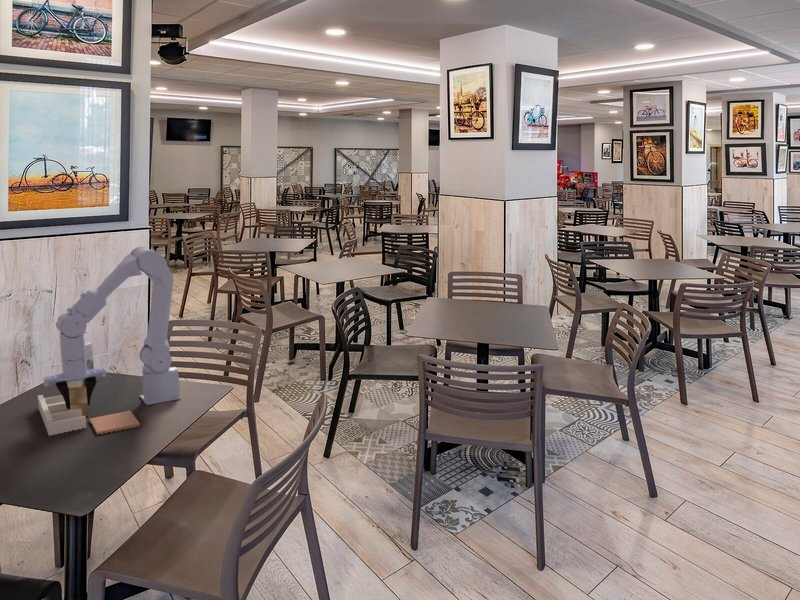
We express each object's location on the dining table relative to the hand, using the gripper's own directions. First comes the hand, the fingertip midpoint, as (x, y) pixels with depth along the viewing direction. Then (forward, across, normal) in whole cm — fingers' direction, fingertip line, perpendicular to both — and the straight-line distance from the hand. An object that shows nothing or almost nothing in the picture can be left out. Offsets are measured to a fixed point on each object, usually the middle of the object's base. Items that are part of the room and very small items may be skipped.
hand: (78, 406), depth 157 cm
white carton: (+3, -4, -20) cm, 21 cm away
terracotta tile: (+3, -7, +11) cm, 13 cm away
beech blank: (+2, 0, 0) cm, 2 cm away
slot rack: (+3, +4, 0) cm, 5 cm away
